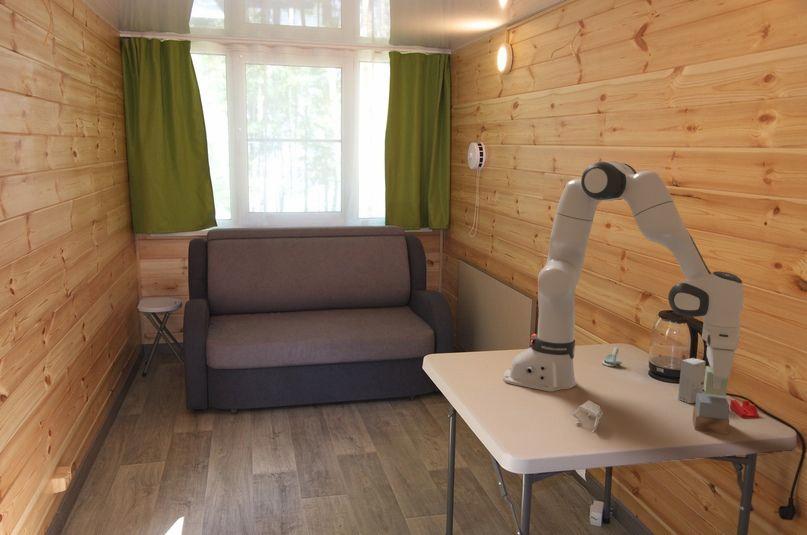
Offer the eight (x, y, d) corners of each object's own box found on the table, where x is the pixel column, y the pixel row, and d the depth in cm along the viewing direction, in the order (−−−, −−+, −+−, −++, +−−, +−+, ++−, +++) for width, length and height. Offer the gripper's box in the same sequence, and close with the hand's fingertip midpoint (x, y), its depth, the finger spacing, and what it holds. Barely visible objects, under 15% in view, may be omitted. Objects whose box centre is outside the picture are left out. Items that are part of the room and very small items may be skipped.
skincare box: (690, 404, 197) (694, 364, 195) (676, 399, 201) (680, 360, 199) (702, 400, 201) (707, 361, 198) (689, 395, 204) (693, 356, 202)
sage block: (705, 393, 179) (707, 371, 178) (703, 387, 184) (705, 366, 183) (725, 396, 178) (728, 374, 177) (723, 389, 183) (726, 368, 181)
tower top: (698, 416, 179) (700, 402, 178) (695, 406, 186) (696, 392, 185) (727, 419, 177) (729, 405, 177) (723, 409, 184) (724, 395, 183)
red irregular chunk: (729, 409, 195) (730, 399, 194) (746, 409, 195) (747, 400, 194) (741, 418, 188) (742, 408, 188) (758, 419, 189) (759, 409, 188)
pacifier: (605, 368, 228) (623, 368, 228) (605, 350, 227) (623, 350, 227) (599, 361, 236) (616, 361, 235) (599, 344, 234) (617, 343, 234)
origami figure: (565, 417, 186) (566, 400, 185) (593, 415, 188) (594, 398, 187) (585, 436, 175) (586, 418, 174) (615, 434, 176) (616, 416, 175)
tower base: (694, 430, 180) (696, 416, 179) (692, 419, 187) (694, 405, 187) (727, 435, 177) (729, 420, 177) (724, 423, 185) (725, 409, 184)
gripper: (704, 323, 189) (698, 370, 191) (711, 343, 170) (705, 395, 172) (728, 325, 187) (723, 373, 189) (739, 345, 168) (732, 398, 170)
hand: (715, 384), depth 181 cm, fingers closed on sage block, 5 cm apart
